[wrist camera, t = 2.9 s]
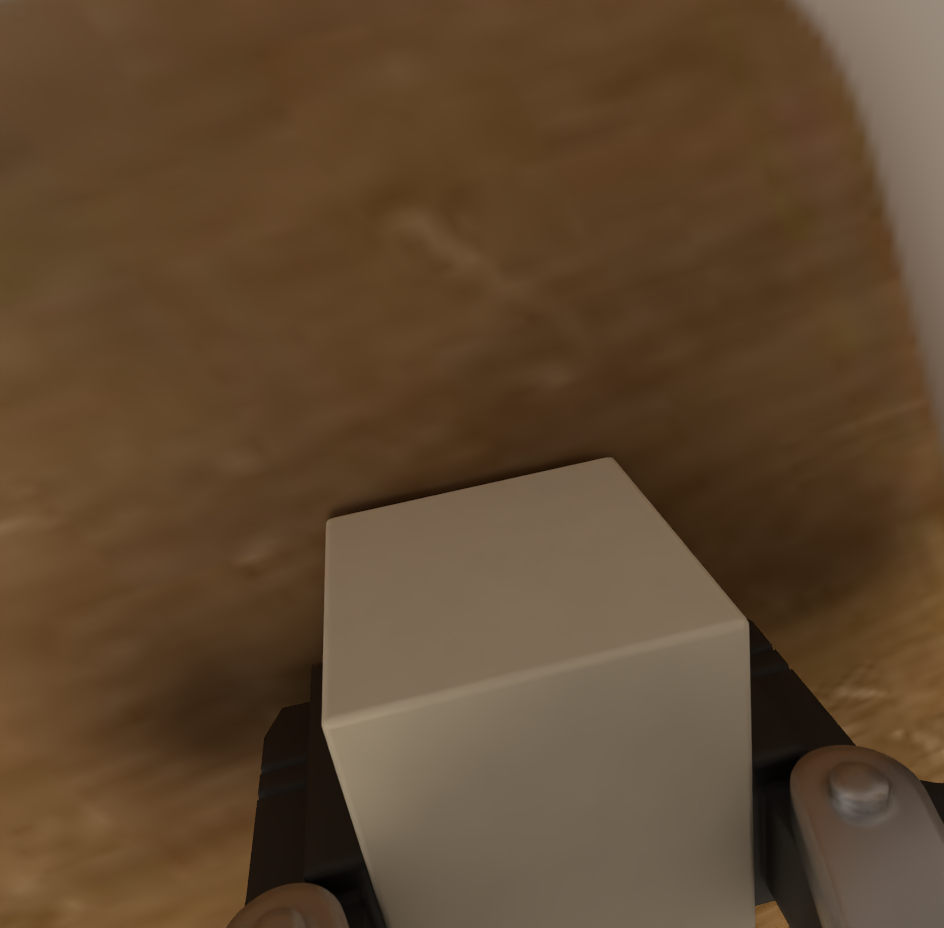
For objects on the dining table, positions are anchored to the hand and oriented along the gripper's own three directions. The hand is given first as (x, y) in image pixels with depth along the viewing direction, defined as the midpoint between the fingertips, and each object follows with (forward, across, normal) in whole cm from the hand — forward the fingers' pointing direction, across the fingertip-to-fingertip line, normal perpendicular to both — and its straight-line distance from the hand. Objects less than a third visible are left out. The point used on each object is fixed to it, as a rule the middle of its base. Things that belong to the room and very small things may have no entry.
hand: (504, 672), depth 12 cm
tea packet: (0, 0, 0) cm, 0 cm away
